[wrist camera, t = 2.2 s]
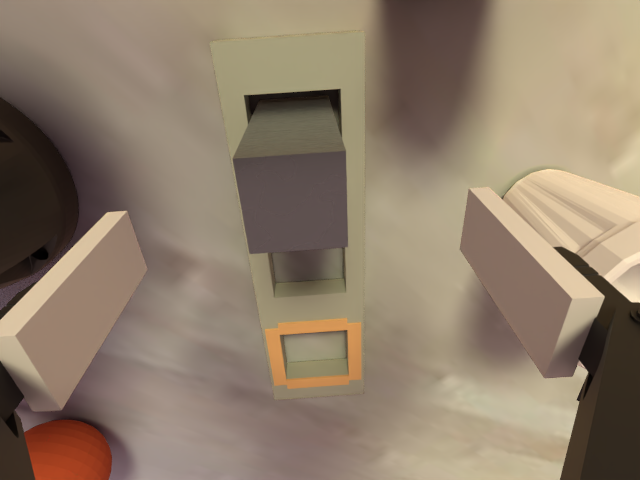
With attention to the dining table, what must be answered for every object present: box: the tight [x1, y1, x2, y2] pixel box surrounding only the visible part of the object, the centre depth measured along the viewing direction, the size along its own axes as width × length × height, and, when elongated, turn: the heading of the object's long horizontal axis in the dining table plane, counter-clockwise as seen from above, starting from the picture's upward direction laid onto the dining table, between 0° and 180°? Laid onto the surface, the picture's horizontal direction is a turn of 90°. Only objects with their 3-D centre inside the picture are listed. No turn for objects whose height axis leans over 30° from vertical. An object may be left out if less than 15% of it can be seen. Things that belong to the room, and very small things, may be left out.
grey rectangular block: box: [233, 95, 348, 254], centre depth 22 cm, size 5×5×12 cm
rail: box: [209, 31, 365, 400], centre depth 31 cm, size 9×32×2 cm, turn 3°
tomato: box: [24, 420, 112, 480], centre depth 38 cm, size 10×10×10 cm
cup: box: [503, 169, 640, 369], centre depth 25 cm, size 10×10×13 cm
